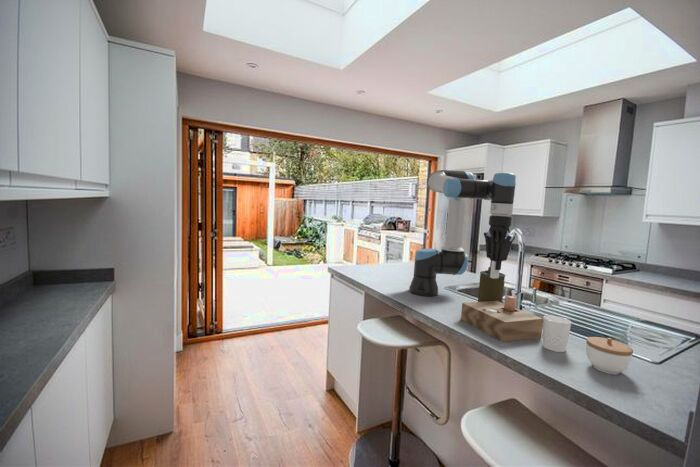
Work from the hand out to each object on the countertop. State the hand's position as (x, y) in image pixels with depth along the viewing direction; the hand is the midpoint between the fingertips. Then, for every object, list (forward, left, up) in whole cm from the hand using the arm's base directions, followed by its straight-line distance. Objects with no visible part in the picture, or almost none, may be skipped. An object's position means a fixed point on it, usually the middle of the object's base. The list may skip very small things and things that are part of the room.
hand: (494, 277), depth 122 cm
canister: (-18, +16, -20) cm, 31 cm away
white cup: (+19, +9, -20) cm, 29 cm away
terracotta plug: (0, +9, -14) cm, 16 cm away
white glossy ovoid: (0, 0, -19) cm, 19 cm away
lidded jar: (+34, +11, -20) cm, 41 cm away
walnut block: (0, +4, -20) cm, 20 cm away
